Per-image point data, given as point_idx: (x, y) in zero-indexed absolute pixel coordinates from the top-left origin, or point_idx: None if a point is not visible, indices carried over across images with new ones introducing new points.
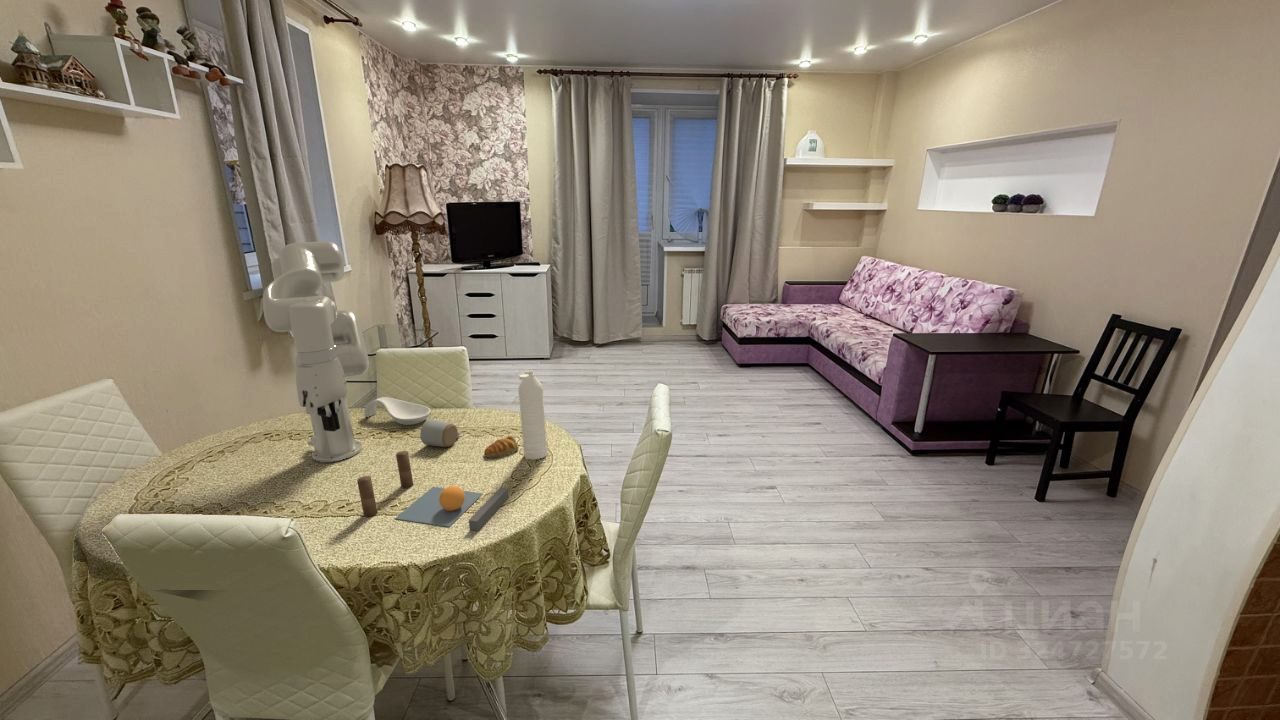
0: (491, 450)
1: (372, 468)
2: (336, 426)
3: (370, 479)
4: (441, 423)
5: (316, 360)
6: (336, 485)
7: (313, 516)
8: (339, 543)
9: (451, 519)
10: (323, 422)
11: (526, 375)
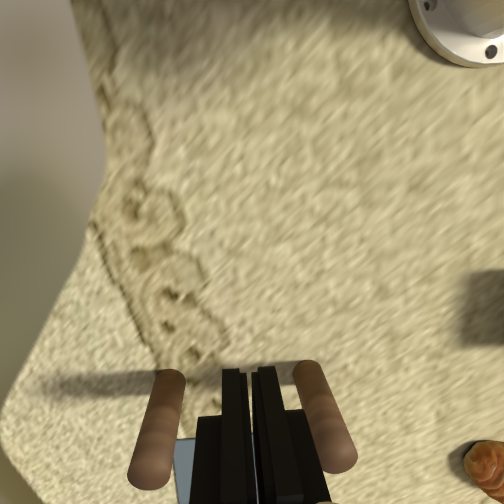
0: (479, 478)
1: (383, 211)
2: (255, 461)
3: (157, 487)
4: None
5: None
6: (266, 182)
7: (107, 258)
8: (52, 402)
9: None
10: (193, 471)
11: None
